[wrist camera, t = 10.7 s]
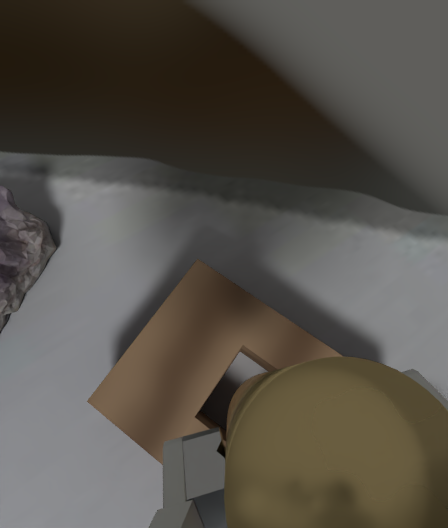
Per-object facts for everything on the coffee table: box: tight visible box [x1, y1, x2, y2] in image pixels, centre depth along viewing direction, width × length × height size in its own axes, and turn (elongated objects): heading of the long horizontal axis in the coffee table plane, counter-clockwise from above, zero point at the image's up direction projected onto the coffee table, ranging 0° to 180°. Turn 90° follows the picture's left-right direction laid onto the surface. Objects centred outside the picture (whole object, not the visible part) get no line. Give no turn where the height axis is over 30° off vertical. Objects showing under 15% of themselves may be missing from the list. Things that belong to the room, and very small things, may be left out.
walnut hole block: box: [87, 259, 344, 465], centre depth 24 cm, size 18×12×5 cm, turn 55°
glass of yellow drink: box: [224, 357, 448, 528], centre depth 10 cm, size 4×4×10 cm
